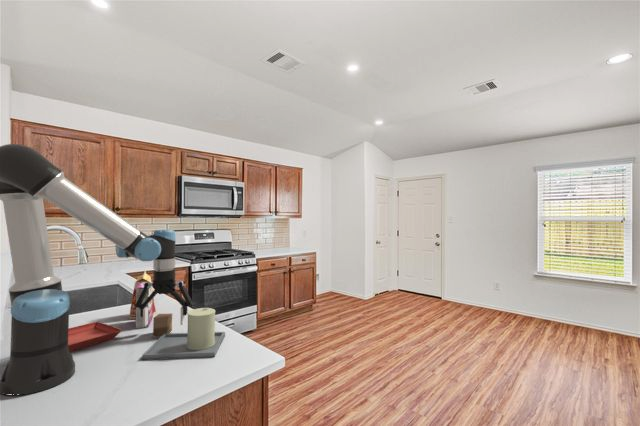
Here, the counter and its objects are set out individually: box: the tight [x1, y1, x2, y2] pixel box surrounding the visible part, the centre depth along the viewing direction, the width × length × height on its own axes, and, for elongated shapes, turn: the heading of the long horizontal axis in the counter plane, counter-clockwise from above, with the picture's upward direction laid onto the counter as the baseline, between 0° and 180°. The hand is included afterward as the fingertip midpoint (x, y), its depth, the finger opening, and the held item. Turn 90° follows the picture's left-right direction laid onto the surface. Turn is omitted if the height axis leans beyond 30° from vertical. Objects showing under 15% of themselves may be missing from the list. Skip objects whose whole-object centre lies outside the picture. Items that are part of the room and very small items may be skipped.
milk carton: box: [128, 270, 157, 320], centre depth 138 cm, size 9×9×20 cm
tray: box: [141, 331, 226, 361], centre depth 106 cm, size 18×22×2 cm
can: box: [186, 307, 216, 350], centre depth 106 cm, size 9×9×12 cm
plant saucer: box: [68, 321, 123, 353], centre depth 110 cm, size 18×18×3 cm
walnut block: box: [152, 313, 173, 337], centre depth 117 cm, size 5×5×7 cm
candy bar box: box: [134, 281, 153, 329], centre depth 128 cm, size 11×5×16 cm, turn 22°
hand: (164, 324), depth 117 cm, fingers open, 13 cm apart
